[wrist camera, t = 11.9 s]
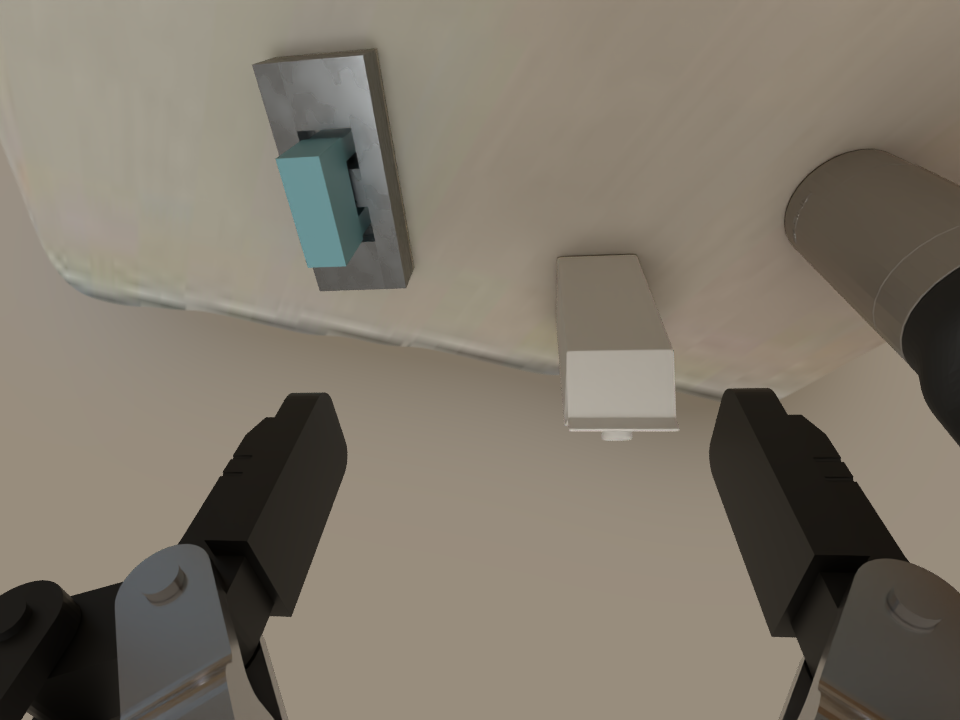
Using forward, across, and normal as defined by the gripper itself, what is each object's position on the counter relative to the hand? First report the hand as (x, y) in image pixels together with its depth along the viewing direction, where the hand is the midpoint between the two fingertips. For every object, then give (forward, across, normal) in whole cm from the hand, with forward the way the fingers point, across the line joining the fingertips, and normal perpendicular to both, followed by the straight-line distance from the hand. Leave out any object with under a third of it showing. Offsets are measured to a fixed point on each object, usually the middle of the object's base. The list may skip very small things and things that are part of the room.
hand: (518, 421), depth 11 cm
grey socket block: (+36, +15, +5) cm, 39 cm away
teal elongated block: (+36, +15, +5) cm, 39 cm away
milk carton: (+36, -6, +17) cm, 41 cm away
